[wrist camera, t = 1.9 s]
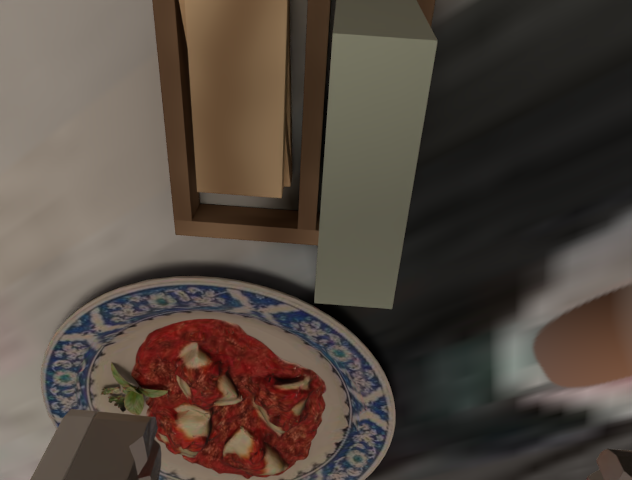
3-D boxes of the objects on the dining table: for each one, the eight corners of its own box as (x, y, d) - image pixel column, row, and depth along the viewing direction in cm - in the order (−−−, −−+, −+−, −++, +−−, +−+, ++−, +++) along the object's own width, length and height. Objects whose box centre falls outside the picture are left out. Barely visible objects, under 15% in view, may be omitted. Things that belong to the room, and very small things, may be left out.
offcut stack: (295, -57, 26) (288, -48, 23) (297, 172, 32) (292, 203, 29) (184, -59, 26) (162, -50, 23) (208, 170, 32) (194, 200, 29)
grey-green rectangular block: (403, -24, 26) (437, 40, 16) (378, 170, 31) (392, 309, 21) (339, -29, 26) (332, 33, 16) (325, 166, 31) (314, 302, 21)
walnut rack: (448, -125, 24) (455, -125, 22) (392, 232, 34) (394, 251, 32) (152, -145, 24) (137, -146, 22) (184, 216, 34) (175, 234, 32)
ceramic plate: (463, 351, 39) (471, 383, 36) (299, 525, 52) (297, 557, 50) (106, 193, 33) (87, 219, 31) (23, 432, 47) (5, 464, 44)
